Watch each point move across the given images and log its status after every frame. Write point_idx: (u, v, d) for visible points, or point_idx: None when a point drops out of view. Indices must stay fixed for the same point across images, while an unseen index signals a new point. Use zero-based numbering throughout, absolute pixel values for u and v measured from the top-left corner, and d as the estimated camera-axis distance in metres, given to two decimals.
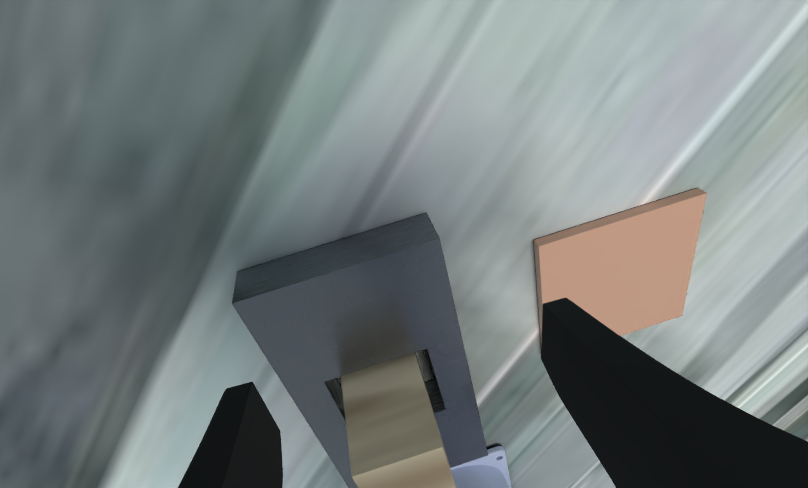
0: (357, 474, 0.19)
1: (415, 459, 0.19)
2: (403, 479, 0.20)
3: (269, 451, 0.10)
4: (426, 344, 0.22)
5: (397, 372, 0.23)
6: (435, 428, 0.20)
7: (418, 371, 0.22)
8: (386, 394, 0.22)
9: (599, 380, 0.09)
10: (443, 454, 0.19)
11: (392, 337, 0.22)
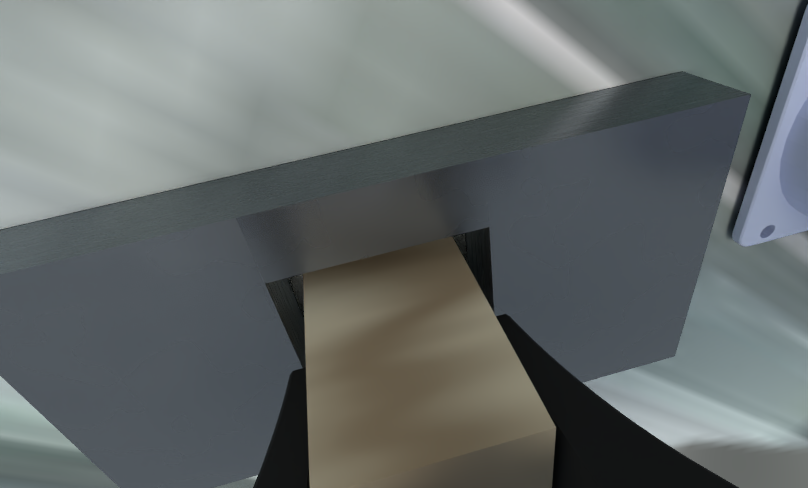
0: None
1: None
2: None
3: None
4: (251, 286, 0.10)
5: None
6: (309, 447, 0.08)
7: (305, 318, 0.10)
8: None
9: None
10: None
11: (224, 343, 0.11)
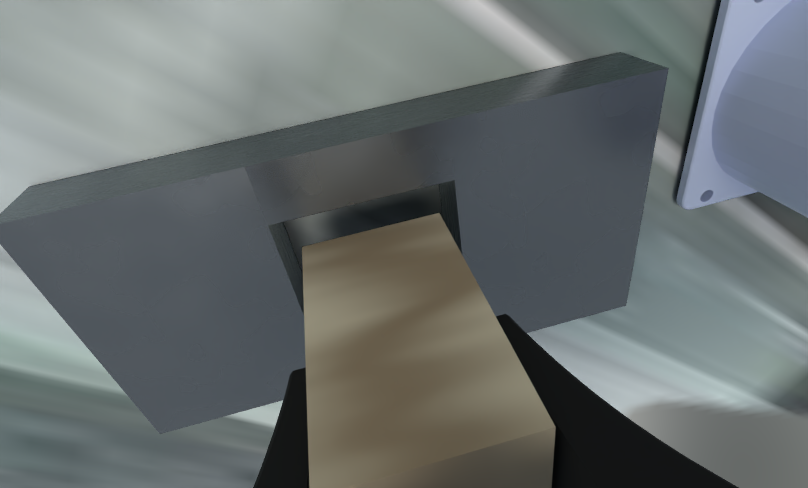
0: None
1: None
2: None
3: None
4: (256, 228, 0.12)
5: None
6: (309, 446, 0.08)
7: (305, 318, 0.10)
8: None
9: None
10: None
11: (233, 279, 0.13)
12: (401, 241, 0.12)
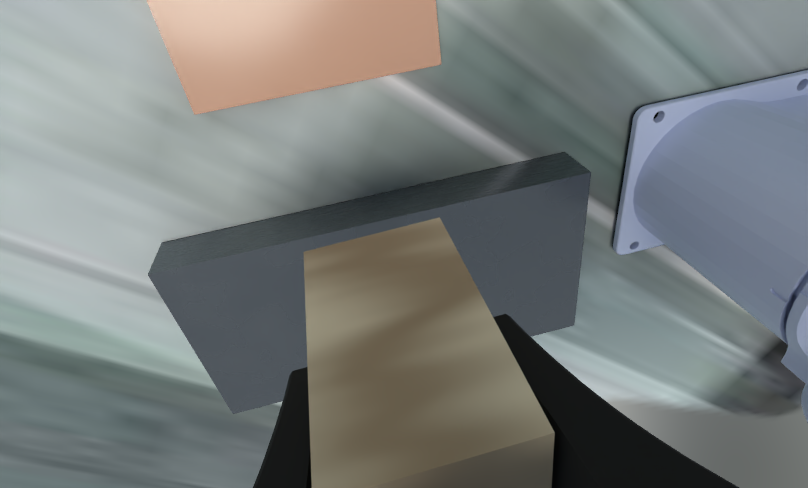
0: None
1: None
2: None
3: None
4: None
5: None
6: (311, 452, 0.08)
7: (307, 324, 0.10)
8: None
9: None
10: None
11: (296, 306, 0.19)
12: (402, 246, 0.12)
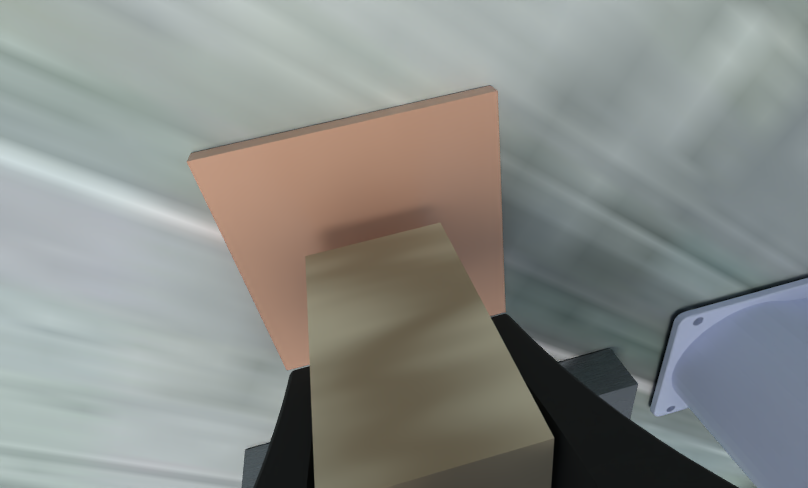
0: None
1: None
2: None
3: None
4: None
5: None
6: (314, 456, 0.08)
7: (309, 328, 0.10)
8: None
9: None
10: None
11: None
12: (403, 251, 0.12)
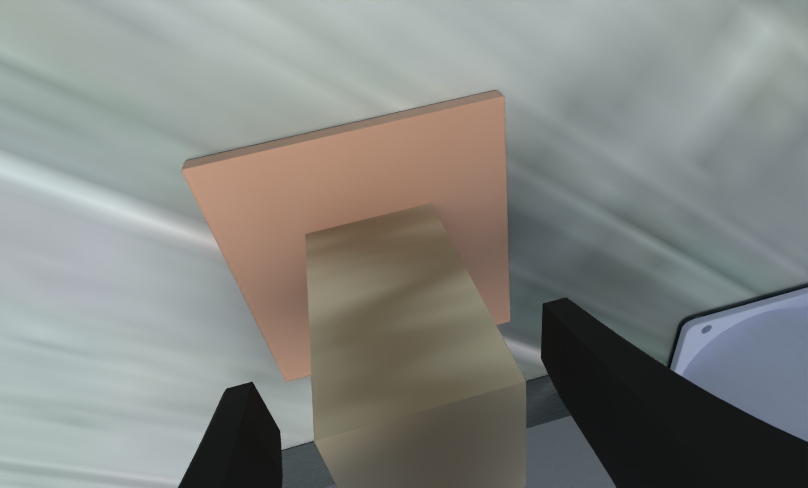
0: None
1: (346, 473, 0.09)
2: (414, 475, 0.09)
3: (269, 451, 0.10)
4: None
5: None
6: (313, 401, 0.09)
7: (308, 296, 0.11)
8: None
9: (599, 380, 0.09)
10: (347, 433, 0.08)
11: None
12: (396, 228, 0.13)
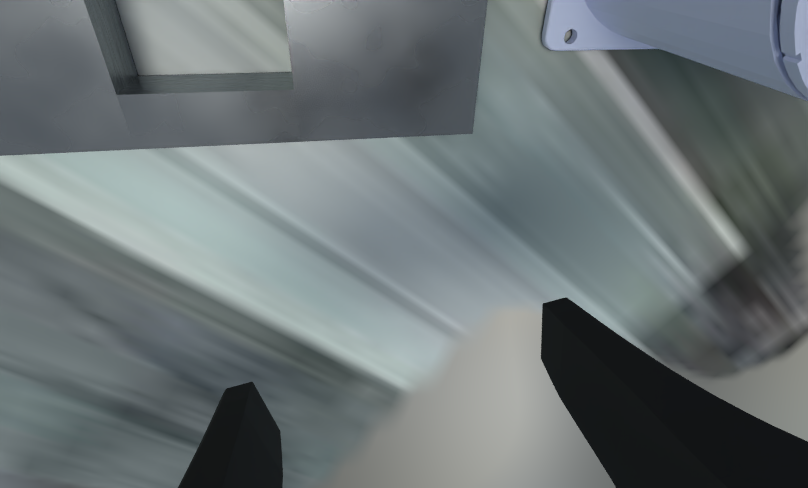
0: None
1: None
2: None
3: (269, 451, 0.10)
4: None
5: None
6: None
7: None
8: None
9: (599, 380, 0.09)
10: None
11: None
12: None
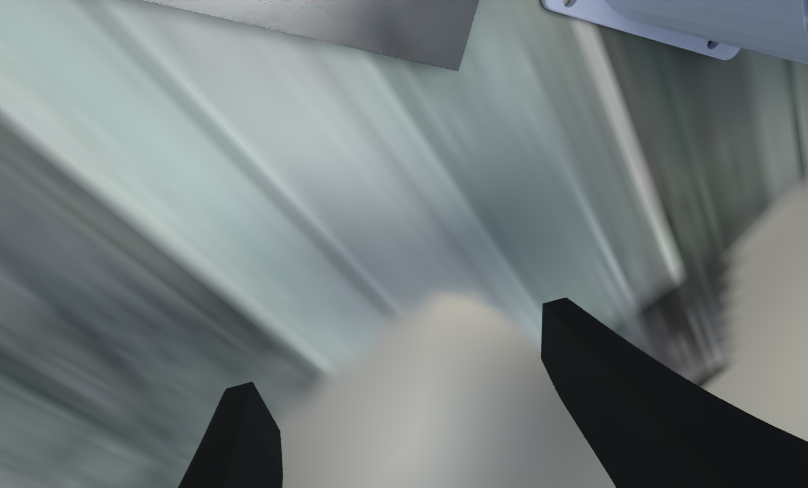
0: None
1: None
2: None
3: (269, 451, 0.10)
4: None
5: None
6: None
7: None
8: None
9: (599, 380, 0.09)
10: None
11: None
12: None
